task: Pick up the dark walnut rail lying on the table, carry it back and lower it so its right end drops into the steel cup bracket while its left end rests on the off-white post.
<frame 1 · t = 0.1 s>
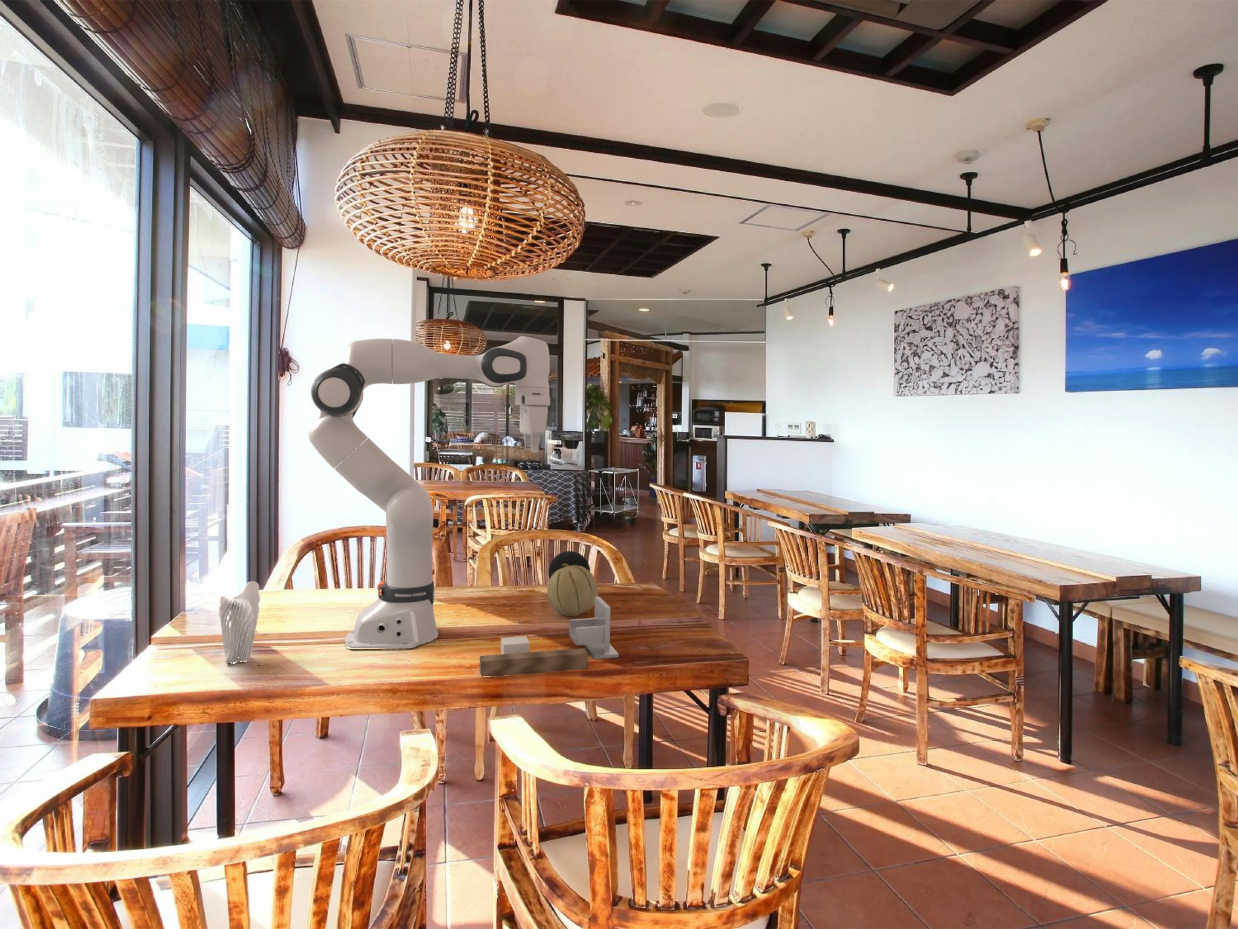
hand: (531, 451, 179), 48 cm above the table, tool pointing down, fingers open, 8 cm apart
rest post: (514, 656, 161), on the table
shell sculpture: (239, 663, 154), on the table
cantaloupe: (572, 615, 196), on the table
black rounded lump: (568, 598, 214), on the table
walnut rail: (534, 671, 153), on the table
cup bracket: (584, 651, 166), on the table
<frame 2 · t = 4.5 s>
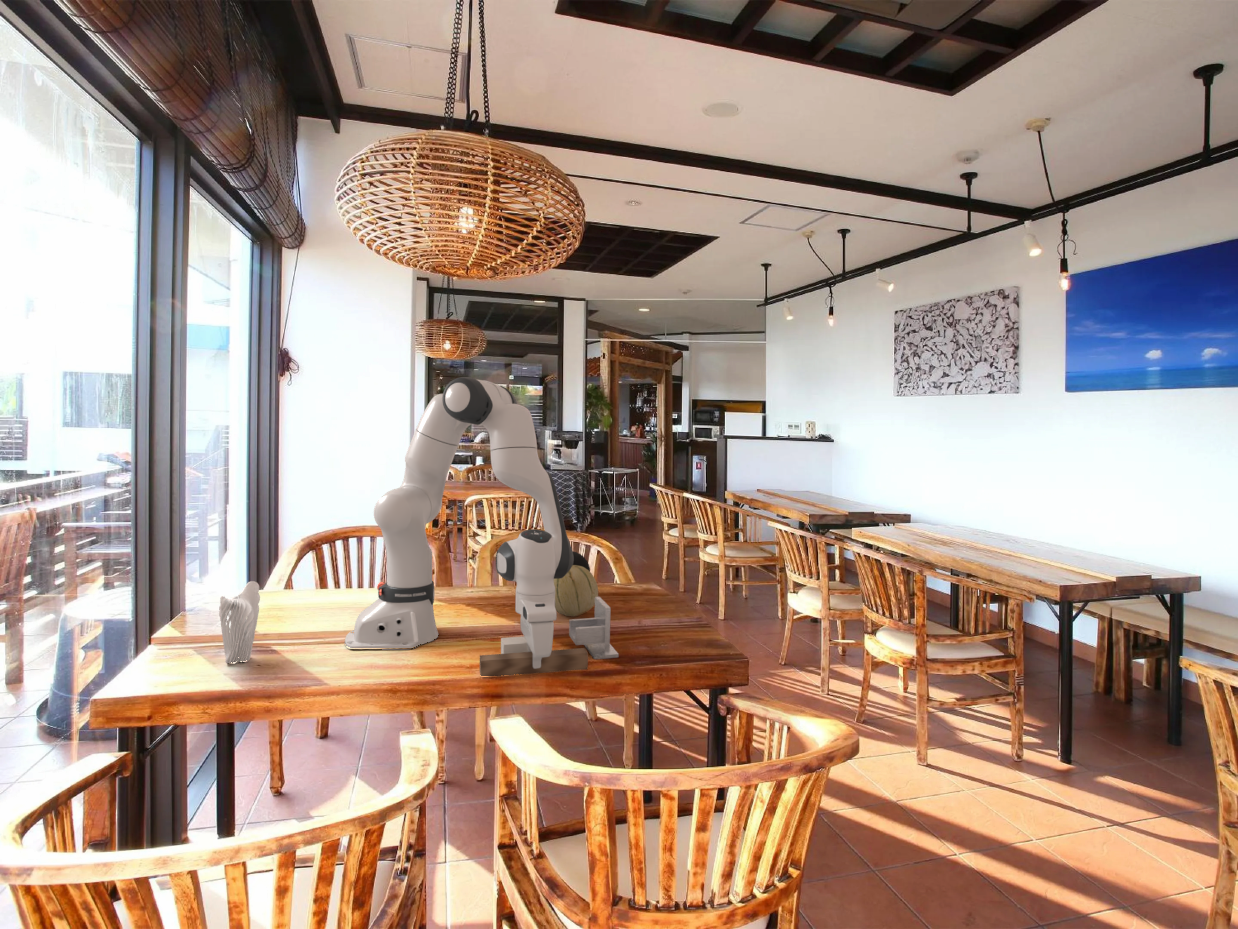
hand: (534, 663, 153), 2 cm above the table, tool pointing down, fingers closed on walnut rail, 4 cm apart
walnut rail: (534, 671, 153), on the table, touching gripper
everything else where it was.
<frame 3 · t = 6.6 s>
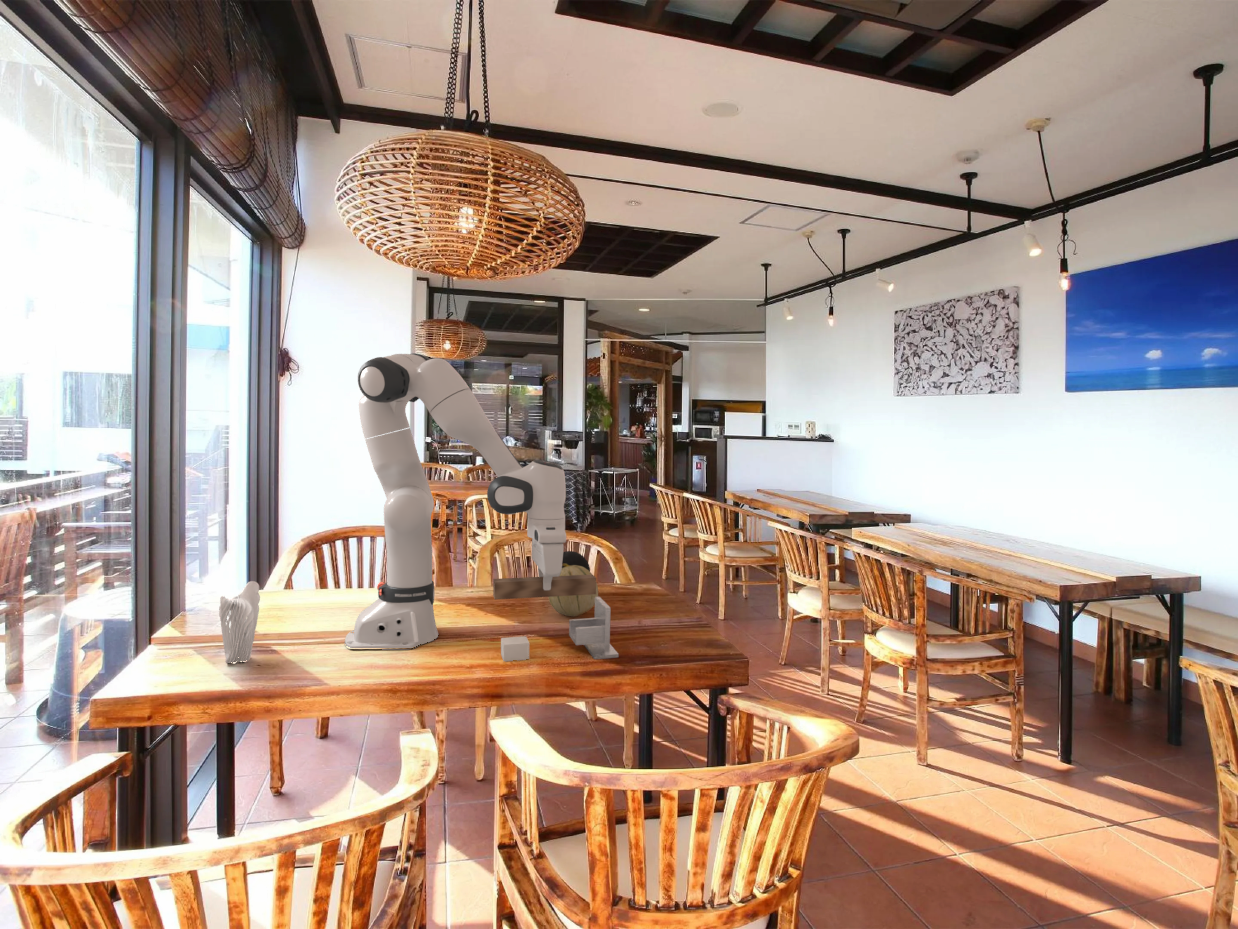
hand: (544, 586, 161), 17 cm above the table, tool pointing down, fingers closed on walnut rail, 3 cm apart
walnut rail: (545, 595, 161), point 15 cm above the table, touching gripper
everything else where it was.
when the fingers open (6 cm above the table, at t = 8.8 s): walnut rail stays where it is, resting on cup bracket, rest post.
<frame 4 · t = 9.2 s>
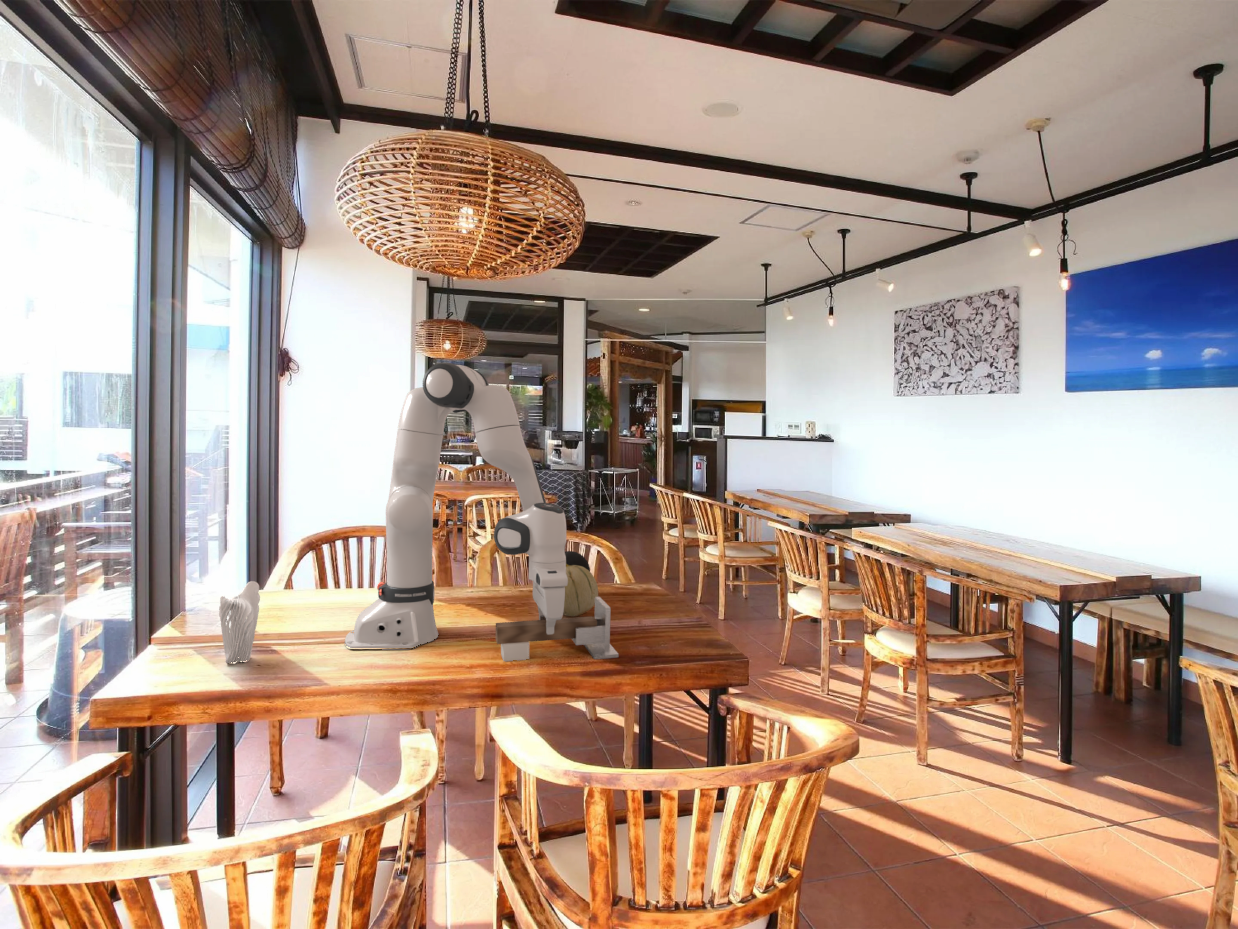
hand: (546, 628, 163), 6 cm above the table, tool pointing down, fingers open, 7 cm apart
walnut rail: (546, 638, 163), point 4 cm above the table, touching cup bracket, rest post
everything else where it was.
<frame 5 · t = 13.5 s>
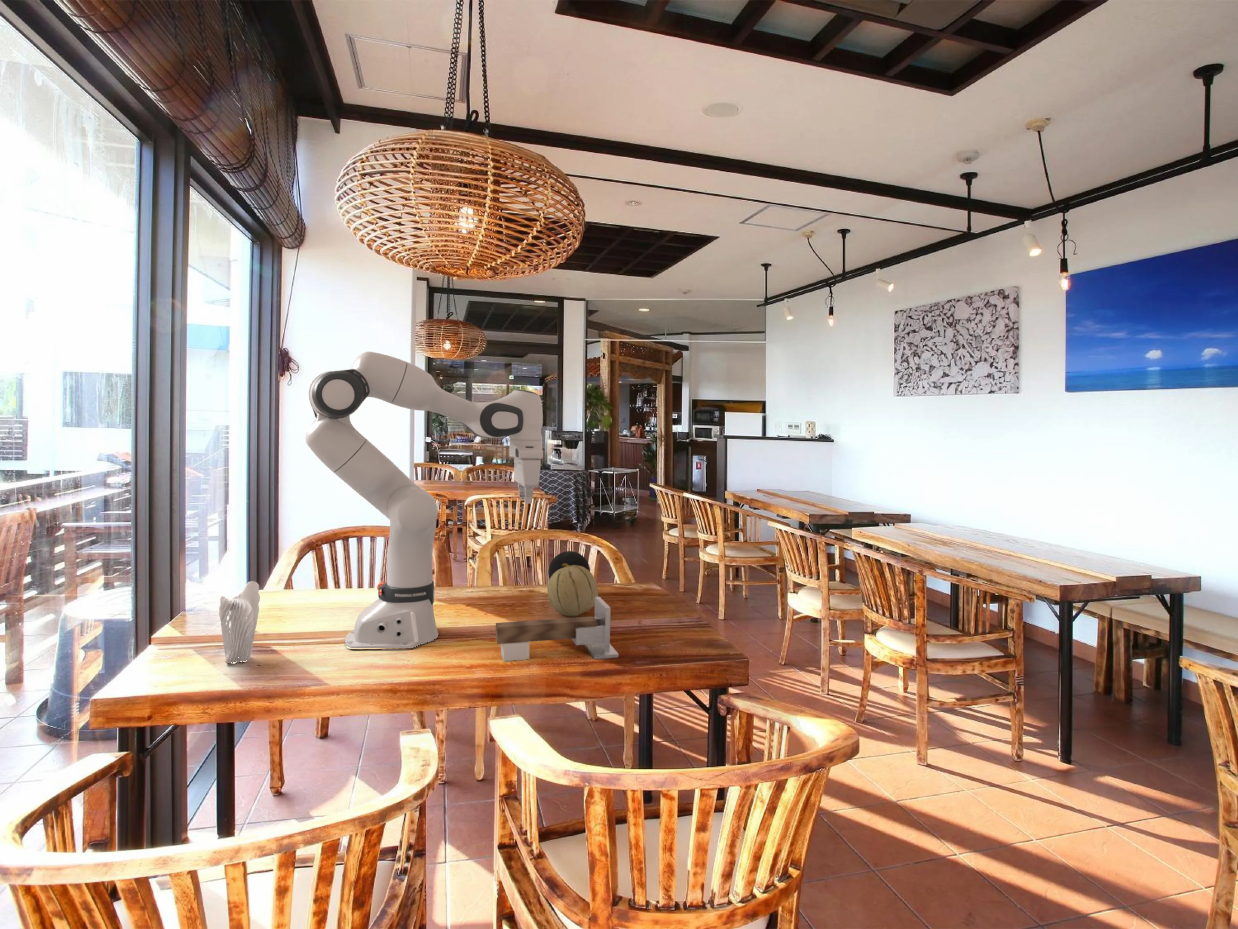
hand: (525, 501, 184), 34 cm above the table, tool pointing down, fingers open, 8 cm apart
nothing on the table moved.
at the end: walnut rail 0.2 cm from the target spot, point 4.0 cm above the table; walnut rail touching cup bracket, rest post; walnut rail tilted 0° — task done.
